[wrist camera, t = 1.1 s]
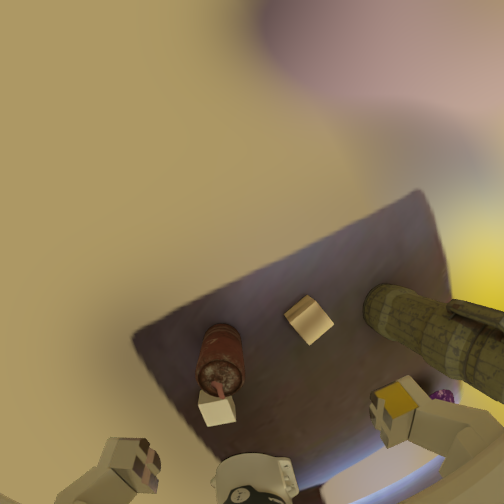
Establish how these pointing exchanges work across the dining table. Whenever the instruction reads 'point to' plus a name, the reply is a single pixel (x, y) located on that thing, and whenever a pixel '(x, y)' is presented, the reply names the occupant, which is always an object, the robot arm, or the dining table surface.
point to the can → (221, 362)
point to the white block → (216, 409)
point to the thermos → (443, 334)
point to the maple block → (309, 319)
